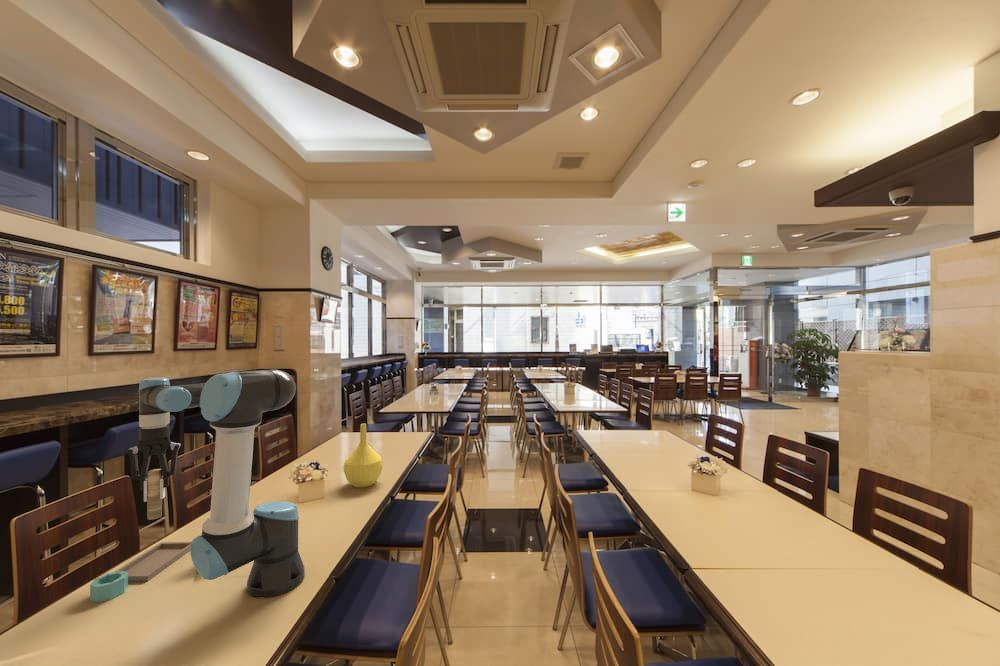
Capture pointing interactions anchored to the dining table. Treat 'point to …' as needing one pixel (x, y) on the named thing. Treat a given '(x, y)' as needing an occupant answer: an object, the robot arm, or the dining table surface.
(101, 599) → the ring
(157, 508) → the dowel
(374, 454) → the vase
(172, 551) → the tray
